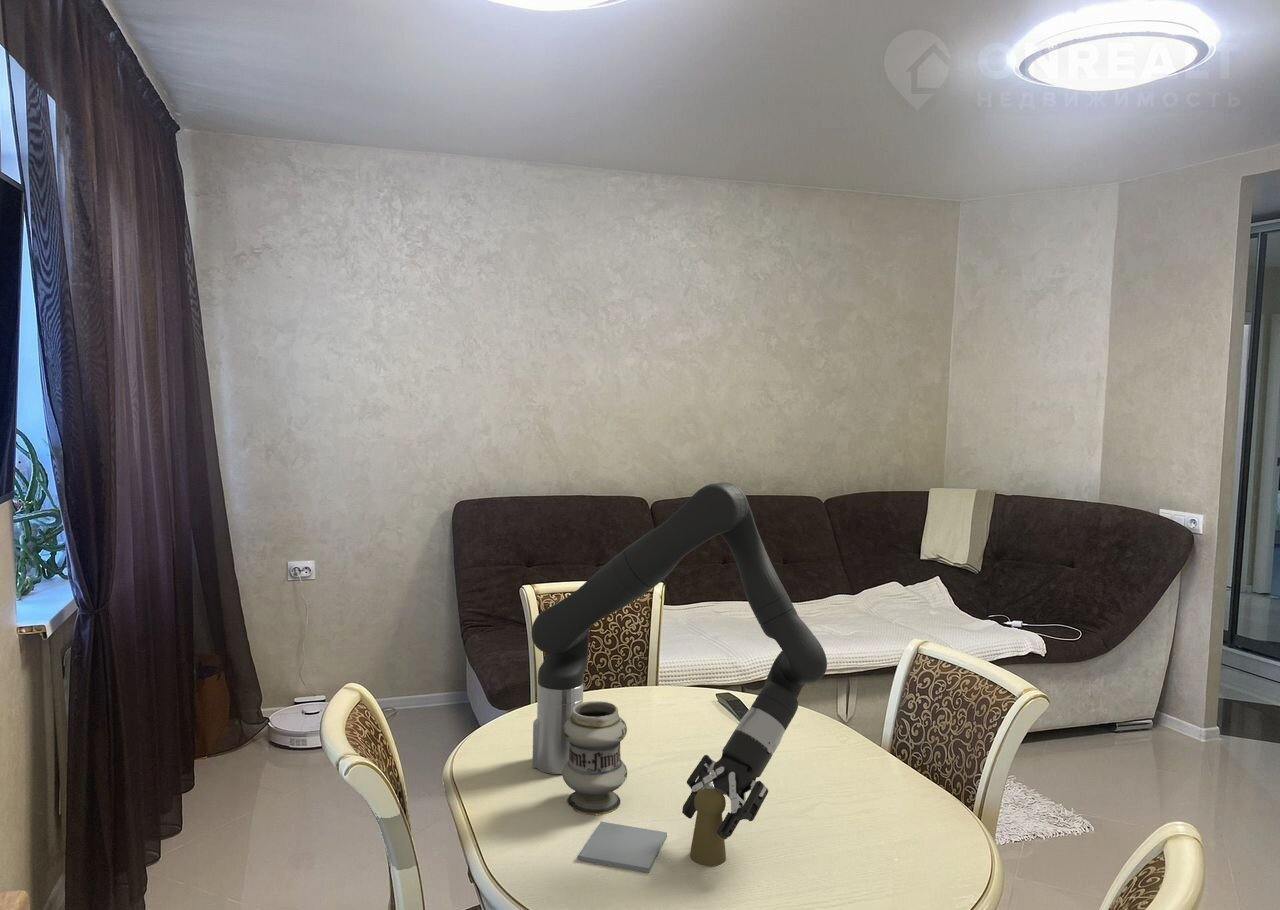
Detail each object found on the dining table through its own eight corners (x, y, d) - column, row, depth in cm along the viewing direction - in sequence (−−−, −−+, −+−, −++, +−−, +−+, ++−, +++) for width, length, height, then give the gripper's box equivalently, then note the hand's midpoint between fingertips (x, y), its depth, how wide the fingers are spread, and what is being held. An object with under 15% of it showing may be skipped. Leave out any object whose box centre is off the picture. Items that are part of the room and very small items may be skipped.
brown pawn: (724, 868, 141) (726, 802, 140) (687, 863, 142) (689, 798, 142) (728, 849, 147) (730, 786, 146) (692, 845, 148) (694, 782, 148)
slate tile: (577, 860, 142) (577, 855, 142) (600, 825, 154) (601, 821, 154) (648, 873, 139) (649, 868, 139) (667, 836, 151) (667, 832, 151)
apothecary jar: (549, 798, 164) (551, 704, 163) (601, 782, 171) (604, 692, 170) (585, 824, 154) (587, 725, 153) (639, 806, 162) (642, 711, 160)
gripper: (714, 717, 154) (663, 798, 147) (775, 743, 143) (722, 832, 136) (734, 739, 157) (685, 820, 151) (795, 767, 146) (745, 855, 140)
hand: (703, 825), depth 143 cm, fingers open, 8 cm apart
